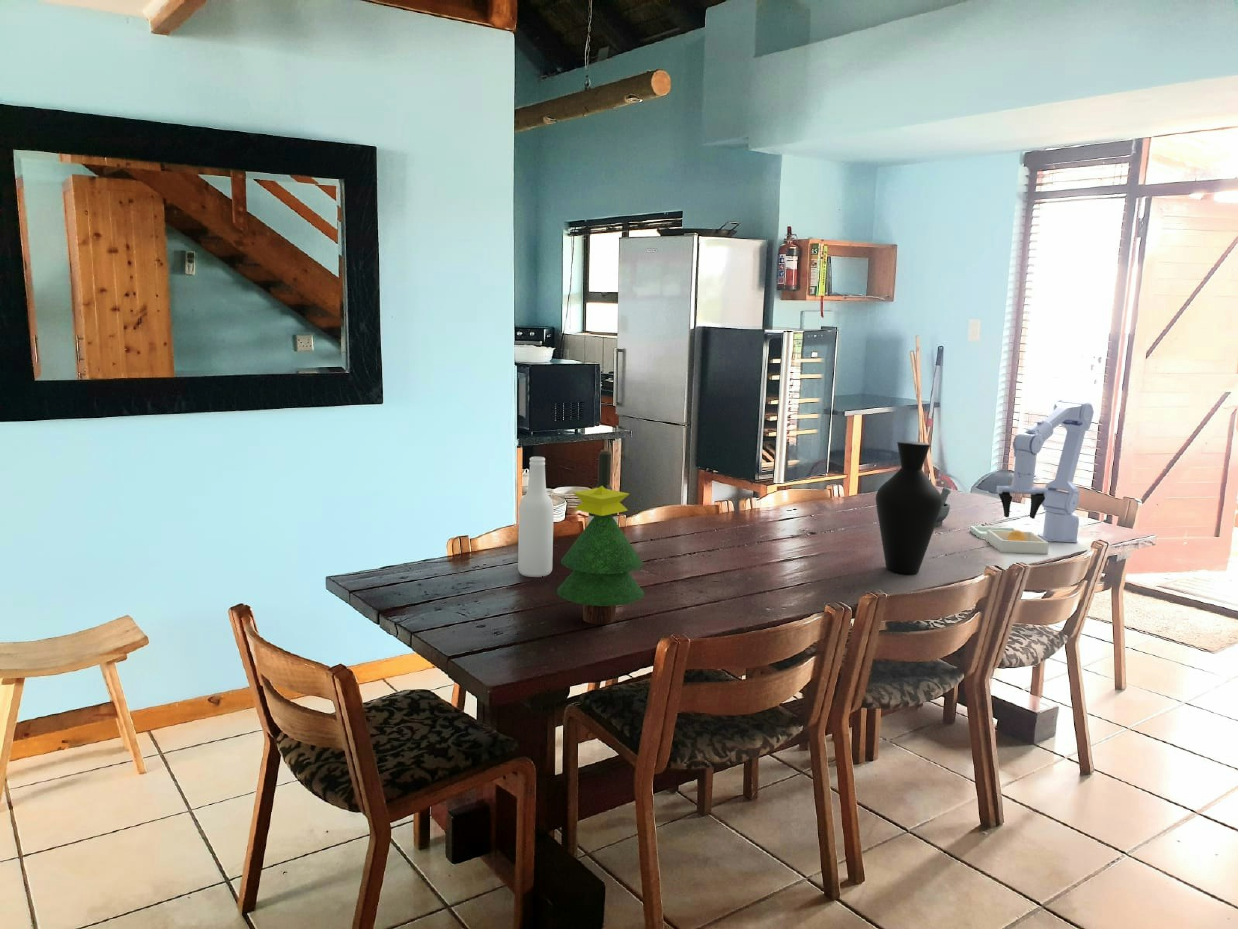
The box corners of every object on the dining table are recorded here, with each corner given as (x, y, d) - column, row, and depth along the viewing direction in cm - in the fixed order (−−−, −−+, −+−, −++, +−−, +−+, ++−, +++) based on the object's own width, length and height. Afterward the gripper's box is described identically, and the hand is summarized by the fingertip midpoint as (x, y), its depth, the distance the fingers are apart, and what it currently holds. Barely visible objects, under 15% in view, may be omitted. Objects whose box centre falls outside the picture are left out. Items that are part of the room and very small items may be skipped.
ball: (1021, 544, 290) (1023, 528, 289) (1027, 548, 285) (1029, 532, 284) (1004, 544, 290) (1006, 528, 290) (1010, 548, 285) (1012, 532, 285)
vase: (926, 583, 246) (938, 450, 240) (861, 571, 255) (872, 443, 249) (942, 569, 260) (954, 443, 254) (880, 558, 269) (890, 436, 263)
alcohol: (520, 567, 248) (522, 454, 243) (553, 568, 248) (556, 455, 242) (515, 576, 239) (517, 459, 234) (550, 578, 239) (553, 461, 234)
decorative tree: (601, 640, 197) (606, 499, 192) (538, 617, 209) (541, 484, 204) (660, 619, 211) (666, 487, 206) (597, 599, 223) (601, 474, 218)
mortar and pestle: (933, 528, 309) (937, 492, 307) (911, 522, 317) (915, 487, 315) (957, 525, 315) (960, 490, 312) (934, 519, 322) (938, 485, 320)
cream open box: (1030, 542, 294) (1031, 531, 294) (1047, 554, 281) (1048, 542, 280) (985, 540, 295) (987, 529, 294) (1000, 552, 281) (1002, 540, 281)
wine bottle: (594, 564, 253) (597, 453, 248) (581, 556, 260) (584, 448, 255) (621, 561, 257) (626, 452, 252) (608, 553, 264) (611, 447, 259)
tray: (1013, 533, 306) (1014, 527, 306) (1025, 541, 296) (1025, 535, 296) (969, 531, 307) (970, 525, 307) (979, 538, 297) (980, 533, 297)
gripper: (1004, 474, 280) (999, 519, 283) (1054, 476, 280) (1048, 521, 282) (996, 470, 287) (991, 514, 290) (1044, 472, 287) (1039, 516, 289)
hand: (1019, 517), depth 286 cm, fingers open, 7 cm apart
